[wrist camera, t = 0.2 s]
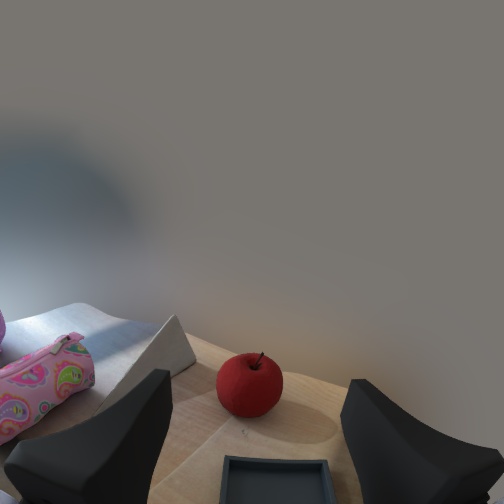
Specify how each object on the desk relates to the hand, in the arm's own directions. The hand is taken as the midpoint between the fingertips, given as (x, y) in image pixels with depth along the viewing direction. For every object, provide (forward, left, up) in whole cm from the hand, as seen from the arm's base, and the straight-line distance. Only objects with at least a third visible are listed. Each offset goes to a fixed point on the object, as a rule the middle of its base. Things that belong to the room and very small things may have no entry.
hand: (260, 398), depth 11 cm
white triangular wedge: (+27, +13, -23) cm, 38 cm away
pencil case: (+15, +27, -23) cm, 38 cm away
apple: (+26, -1, -23) cm, 34 cm away
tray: (+7, -5, -23) cm, 24 cm away
